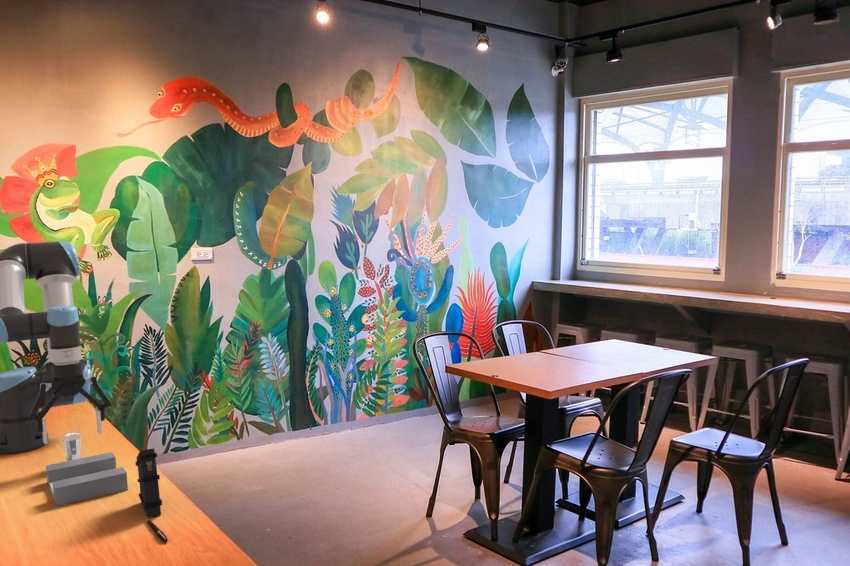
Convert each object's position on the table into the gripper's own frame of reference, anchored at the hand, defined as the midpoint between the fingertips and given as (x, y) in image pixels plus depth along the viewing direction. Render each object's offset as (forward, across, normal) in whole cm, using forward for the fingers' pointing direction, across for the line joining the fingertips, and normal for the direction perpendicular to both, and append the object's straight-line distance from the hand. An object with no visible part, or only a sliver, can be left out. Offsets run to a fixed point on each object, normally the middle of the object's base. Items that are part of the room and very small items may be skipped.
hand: (73, 437), depth 194 cm
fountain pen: (+9, +8, -57) cm, 58 cm away
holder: (+8, 0, -18) cm, 20 cm away
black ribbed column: (+9, +10, -42) cm, 45 cm away
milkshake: (+8, 0, +1) cm, 8 cm away
